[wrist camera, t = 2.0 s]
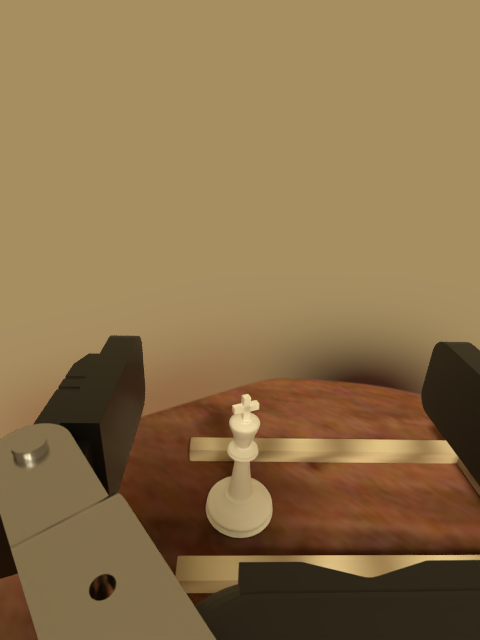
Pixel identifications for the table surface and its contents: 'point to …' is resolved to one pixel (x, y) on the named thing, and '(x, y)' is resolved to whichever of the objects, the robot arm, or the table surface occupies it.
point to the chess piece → (240, 481)
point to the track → (223, 570)
